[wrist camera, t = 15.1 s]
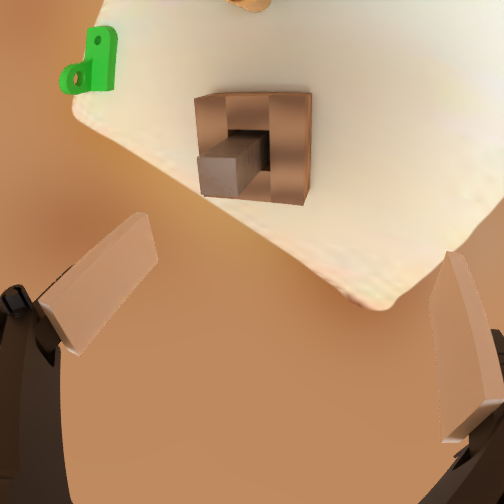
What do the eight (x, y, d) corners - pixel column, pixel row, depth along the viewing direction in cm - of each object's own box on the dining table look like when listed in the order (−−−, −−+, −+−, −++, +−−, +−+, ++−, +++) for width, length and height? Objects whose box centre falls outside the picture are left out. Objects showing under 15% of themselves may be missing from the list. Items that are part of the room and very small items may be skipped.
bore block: (213, 93, 40) (194, 98, 35) (311, 93, 36) (305, 96, 31) (220, 181, 48) (204, 196, 43) (309, 188, 44) (303, 205, 39)
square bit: (245, 127, 40) (196, 157, 29) (273, 127, 39) (235, 158, 28) (246, 153, 43) (200, 194, 31) (274, 155, 42) (237, 197, 30)
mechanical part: (114, 89, 43) (81, 98, 37) (91, 88, 44) (59, 97, 38) (119, 24, 36) (86, 25, 30) (95, 28, 37) (62, 30, 31)
